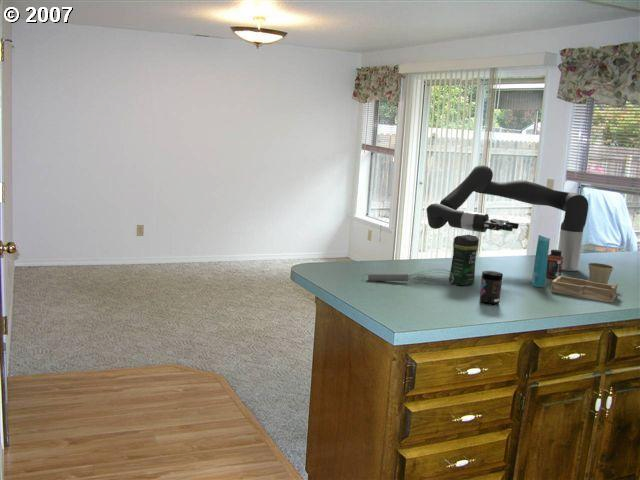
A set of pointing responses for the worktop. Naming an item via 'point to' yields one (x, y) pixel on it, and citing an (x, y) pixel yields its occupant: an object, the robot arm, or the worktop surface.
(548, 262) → the supplement bottle
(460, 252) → the coffee jar
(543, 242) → the tube
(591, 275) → the flower pot
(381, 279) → the kitchen whisk
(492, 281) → the supplement container
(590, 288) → the keyhole tray
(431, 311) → the worktop surface
